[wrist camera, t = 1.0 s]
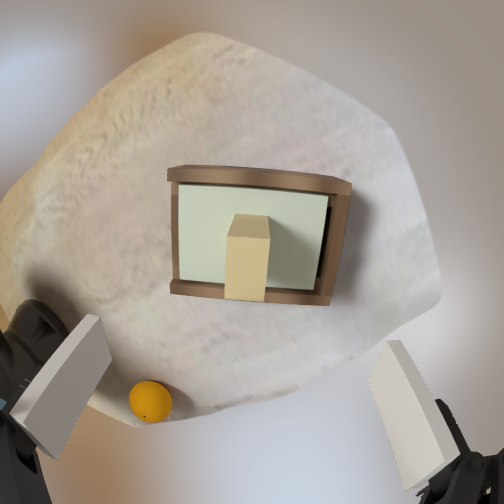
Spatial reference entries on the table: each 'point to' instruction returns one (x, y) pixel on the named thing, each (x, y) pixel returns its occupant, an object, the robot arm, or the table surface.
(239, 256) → the lid
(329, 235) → the case
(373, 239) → the table surface
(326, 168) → the table surface
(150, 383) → the orange
